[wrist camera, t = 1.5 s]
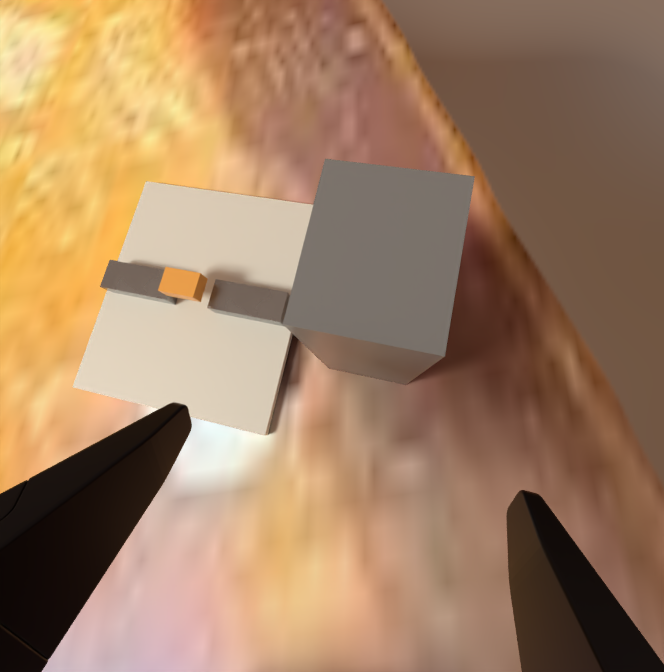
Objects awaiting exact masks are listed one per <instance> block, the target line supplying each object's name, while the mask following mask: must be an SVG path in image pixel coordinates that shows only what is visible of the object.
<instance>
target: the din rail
mask: <svg viewBox="0 0 664 672" xmlns="http://www.w3.org/2000/svg"><path fill="white" fill-rule="evenodd" d="M163 273H164V270H163V269H157V268H152V267H147V266H141V265H136V264H130V263H125V262H119V261H114V260H110V261H109V263H108V266H107V269H106V272H105V275H104V277H103V280H102V283H101V286H100V287H102V288H104V289H106V290H108V291H111V292H113V293H118V294H123V295H128V296H133V297H138V298H143V299H148V300H153V301H158V302H163V303H168V304H173V305H176V302H177V299H178V298H177V297H171V296H167V295H165V294H163V293H161V292H160V291H158V289H159V285H160V282H161V279H162V276H163ZM289 298H290V295H289V293H288V292H284V291H278V290H273V289H267V288H262V287H256V286H251V285H245V284H240V283H234V282H229V281H223V280H218V279H216V280H215V283H214V286H213V290H212V293H211V296H210V300H209V303H208V306H207V308H208V309H210V310H211V311H213V312H215V313H219V314H224V315H229V316H234V317H239V318H244V319H249V320H254V321H259V322H264V323H269V324H274V325H279V326H284V325H283V322H284V318H285V314H286V310H287V306H288V302H289ZM284 327H285V326H284Z"/></svg>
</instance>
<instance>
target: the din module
mask: <svg viewBox="0 0 664 672" xmlns="http://www.w3.org/2000/svg"><path fill="white" fill-rule="evenodd" d="M474 177H475V176H467V175H458V174H450V173H441V172H433V171H424V170H416V169H407V168H399V167H391V166H382V165H374V164H365V163H357V162H348V161H340V160H331V159H325V161H324V165H323V169H322V173H321V177H320V181H319V185H318V189H317V193H316V197H315V200H314V204H313V208H312V212H311V216H310V220H309V224H308V228H307V232H306V236H305V240H304V243H303V247H302V251H301V255H300V259H299V263H298V267H297V271H296V275H295V279H294V283H293V286H292V290H291V294H290V298H289V302H288V306H287V310H286V314H285V318H284V322H283V325H284V326H285V327H286V328H287V329H288V330H289V331H290V332H291V333H292V334H293V335H294V336H295V337H297V338H298V339H299V340H300V341H301V342H302V343H303V344H304V345H305V346H306V347H307V348H308V349H309V350H310V351H311V352H312V353H313V354H314V355H315V356H316V357H317V358H319V359H320V360H321V361H322V362H323V363H324V364H325V365H326V366H327V367H328V368H329V369H334V370H339V371H343V372H348V373H353V374H357V375H362V376H367V377H371V378H376V379H381V380H386V381H390V382H395V383H400V384H404V385H406V384H408V383H409V382H410V381H412V380H413V379H414V378H416V377H417V376H419V375H420V374H421V373H423V372H424V371H425V370H427V369H428V368H430V367H431V366H432V365H434V364H435V363H437V362H438V361H439V360H441V359H442V358H443V357H445V353H446V347H447V341H448V335H449V329H450V322H451V316H452V310H453V304H454V298H455V292H456V286H457V280H458V274H459V268H460V262H461V256H462V250H463V244H464V238H465V232H466V226H467V220H468V214H469V207H470V201H471V195H472V189H473V183H474Z"/></svg>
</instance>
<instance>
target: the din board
mask: <svg viewBox="0 0 664 672" xmlns="http://www.w3.org/2000/svg"><path fill="white" fill-rule="evenodd" d="M312 208H313V205H312V204H305V203H297V202H290V201H283V200H276V199H269V198H262V197H255V196H247V195H240V194H233V193H226V192H219V191H212V190H205V189H197V188H190V187H183V186H176V185H169V184H162V183H155V182H148V181H146V183H145V186H144V189H143V191H142V194H141V197H140V200H139V203H138V205H137V208H136V211H135V214H134V217H133V219H132V222H131V225H130V228H129V231H128V233H127V236H126V239H125V242H124V245H123V247H122V250H121V253H120V256H119V259H118V261H119V262H125V263H130V264H136V265H141V266H147V267H152V268H157V269H163V270H165V267H170V268H175V269H181V270H186V271H192V272H198V273H201V274H202V275H204V276H205V277H206V278H207V279H208V280H207V283H206V287H205V290H204V293H203V296H202V300H201V302H197V301H192V300H187V299H182V298H178V299H177V302H176V305H173V304H168V303H163V302H158V301H153V300H148V299H143V298H138V297H133V296H128V295H123V294H118V293H113V292H111V291H108V290H107V292H106V295H105V298H104V300H103V303H102V306H101V309H100V312H99V314H98V317H97V320H96V323H95V326H94V328H93V331H92V334H91V337H90V340H89V342H88V345H87V348H86V351H85V354H84V356H83V359H82V362H81V365H80V368H79V370H78V373H77V376H76V379H75V382H74V384H73V387H74V388H78V389H82V390H86V391H90V392H94V393H98V394H102V395H106V396H110V397H114V398H118V399H121V400H125V401H129V402H133V403H137V404H141V405H145V406H149V407H153V408H157V409H160V408H162V407H164V406H166V405H168V404H170V403H172V402H176V403H180V404H184V405H186V406H187V407H188V410H189V414H190V417H193V418H197V419H201V420H205V421H209V422H213V423H217V424H221V425H225V426H229V427H233V428H237V429H241V430H245V431H249V432H253V433H257V434H261V435H268V432H269V428H270V424H271V420H272V416H273V412H274V408H275V404H276V400H277V396H278V392H279V388H280V384H281V380H282V376H283V372H284V368H285V364H286V360H287V356H288V352H289V348H290V344H291V340H292V336H293V334H292V333H291V332H290V331H289V330H288V329H287V328H286V327H284V326H279V325H274V324H269V323H264V322H259V321H254V320H249V319H244V318H239V317H234V316H229V315H224V314H219V313H215V312H213V311H211V310H210V309H208V308H207V306H208V303H209V300H210V296H211V293H212V290H213V286H214V283H215V280H216V279H218V280H223V281H229V282H234V283H240V284H245V285H251V286H256V287H262V288H267V289H273V290H278V291H284V292H288V293H289V295H290V294H291V290H292V286H293V283H294V279H295V275H296V271H297V267H298V263H299V259H300V255H301V251H302V247H303V243H304V240H305V236H306V232H307V228H308V224H309V220H310V216H311V212H312Z"/></svg>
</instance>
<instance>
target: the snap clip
mask: <svg viewBox="0 0 664 672" xmlns="http://www.w3.org/2000/svg"><path fill="white" fill-rule="evenodd" d="M207 280H208V279H207V278H206V277H205V276H204V275H202V274H201V273H198V272H192V271H186V270H181V269H175V268H170V267H165V270H164V273H163V276H162V279H161V282H160V285H159V289H158V291H160V292H161V293H163V294H165V295H167V296H171V297H177V298H182V299H187V300H192V301H197V302H201V300H202V296H203V293H204V290H205V287H206V283H207Z"/></svg>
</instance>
